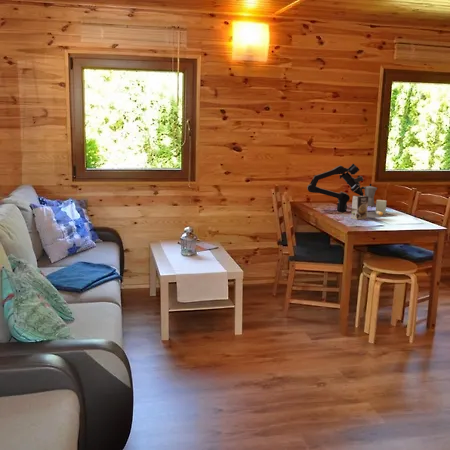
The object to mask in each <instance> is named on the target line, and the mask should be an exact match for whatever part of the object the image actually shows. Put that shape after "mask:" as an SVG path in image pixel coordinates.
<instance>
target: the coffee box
mask: <svg viewBox="0 0 450 450" xmlns="http://www.w3.org/2000/svg"><path fill="white" fill-rule="evenodd" d="M351 202H352V203H351V215H350V219H352V220H355V221H358V220H360V221H361V220H366V219H367V218H368V217H367V212H368V196H365V195H364V194H363V195H362V196H361V195H352V201H351Z"/></svg>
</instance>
